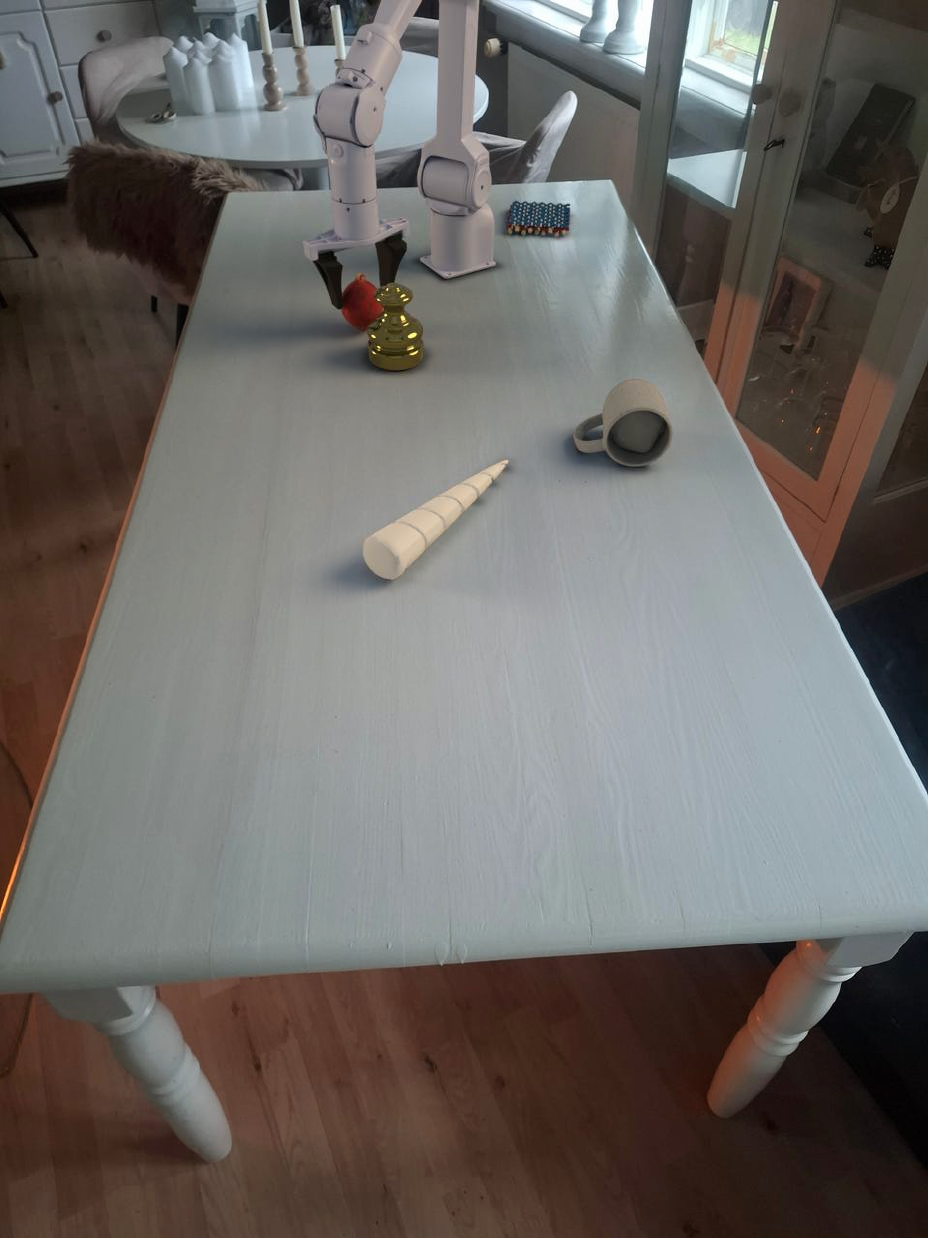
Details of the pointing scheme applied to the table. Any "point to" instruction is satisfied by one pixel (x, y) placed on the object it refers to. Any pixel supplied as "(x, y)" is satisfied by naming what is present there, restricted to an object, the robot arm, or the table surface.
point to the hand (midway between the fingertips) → (362, 299)
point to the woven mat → (538, 217)
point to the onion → (360, 303)
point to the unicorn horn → (423, 526)
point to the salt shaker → (394, 331)
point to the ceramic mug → (630, 425)
